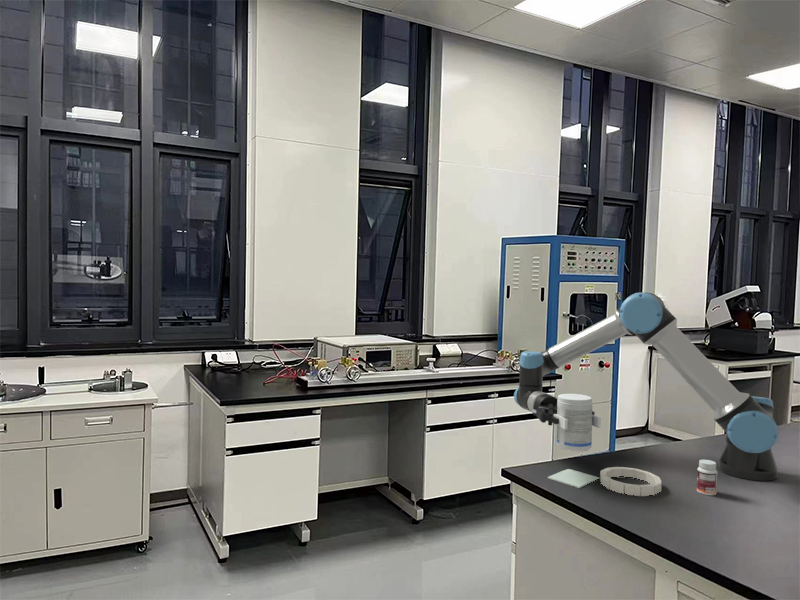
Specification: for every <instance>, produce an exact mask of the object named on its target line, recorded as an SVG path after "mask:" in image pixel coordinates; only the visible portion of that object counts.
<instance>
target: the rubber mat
mask: <svg viewBox="0 0 800 600" xmlns="http://www.w3.org/2000/svg"><path fill="white" fill-rule="evenodd" d="M548 479H549V480H551V481H555V482H558V483H562V484H565V485H566V486H567V485H568V486H571V487H573V486H574V487H573V488H577V489H581V488H584V487H585V486H588V485H589V483H590V484H592V483H594V482H596V481H598V480H597V479H599V480H600V476H599V477H598V476H595V475H592V474H588V473H584V472H581V471H577V470H574V469H570V468H567V469H564V470H561V471H559V472H556V473H554V474H552V475H548V476H547V480H548ZM595 480H596V481H595ZM593 481H594V482H593ZM591 482H592V483H591ZM587 484H588V485H587Z"/></svg>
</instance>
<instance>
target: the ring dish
mask: <svg viewBox="0 0 800 600" xmlns="http://www.w3.org/2000/svg"><path fill="white" fill-rule="evenodd" d="M619 476H624V477H623V478H625V477H633V478H632V479H634V478H637V479H636V480H638V479H640V480H639V481H641V480H644V481H643V482H645V481H647V482H648V483H647V482H646V483H647V484H634V483H633V484H632V483H627V482H622V481H618V480H615V479H614V478H613V479H612V478H611V477H617V478H620V477H619ZM599 482H601V483H600V485H601V484H602V485H603V487H604V486H605V487H606V489H607V490H609V489H610V490H609V491H611V490H612V492H614V491H615V492H614V493H618V494H621V493H622V494H621V495H625V494H627V495H626V496H633V495H634V496H636V497H650V496H649V495H653V496H656V495H658V494H660V493H662V485H663V484H662V480H661V477H660V476H658V475H656V474H654V473H652V472H650V471H648V470H643V469H639V468H634V467H624V466H621V467H620V466H613V467H612V466H611V467H606V468H604V469H601V470H600V473H599ZM649 483H650V484H649ZM602 485H601V486H602ZM605 487H604V488H605ZM659 492H660V493H659ZM624 493H625V494H624ZM657 493H658V494H657ZM655 494H656V495H655Z"/></svg>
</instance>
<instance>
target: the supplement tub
mask: <svg viewBox="0 0 800 600" xmlns="http://www.w3.org/2000/svg"><path fill="white" fill-rule="evenodd" d="M557 399H558V400H557V401H558V402H557V415H559V416H561V417H563V418H565V419H567V420H568V426H567V429H563V428H561V427H559V426H557V425H556V445H557V446H558V448H560V449H562V450H564V451H569V452H576V453H577V452H579V453H580V452H581V453H582V452H587V451H589V450H591V448H592V442H593V439H592V438H593V437H592V436H593V435H592V433H593V425H592V411H593V398H592V397H591V396H589V395H587V394H586V395H585V394H579V393H562V394H559V395H558V396H557Z"/></svg>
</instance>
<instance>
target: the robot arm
mask: <svg viewBox="0 0 800 600" xmlns="http://www.w3.org/2000/svg"><path fill="white" fill-rule="evenodd" d="M677 324H678V319H677V318H676V317H675V315H673V314H672V313H671V311H670V310H669V309H667V307H666V305H665V303H664V301H663V300H662V299H661V297H659V296H658V295H657V294H654V293H652V292H640V291H639V292H635V293H633V294H631V295H629V296H628V297H627V298H626V299H625V300H623V302H622V303H621V305H620V307H618V308H616V309H615V312H614V313H613V314H611V315H610V316H607V317H605V318H604V319H602V320H600V321H598V322H596V323H594V324H593V325H591V326H589V327H587V328H585V329H583V330H581V331H579V332H578V333H576V334H574V335H573V334H572V336H569V337H567V338H566V339H564V340H562V341H560V342H558V343H557V344H555V345H553V346H551V347H549V348H547V349H546V350H543V351H541V352H540V351H533V350H526V351H522V352H521V353H520V356H519V362H518V363H519V383H518V386H517V388H516V389H515V391H514V393H513V398H514V401H515V403H516V404H517V405H518V406H519V407H520V408H522V409H524V410H527V411H529V412H530V413H532V415H533V416H535V417H537V419H538V420H539V421H540V422H541V423H543V424H544V423H546V422H547V425H548V426H553V425H556V427H557V426H559V427H561V428H563V429H567V426H568V420H567V419H565V418H563V417H561V416H559V415H557V402H558V401H557V400H558V397H555V396H553V395H551V394H549V393H546V392H545V391H544V392H543V381H544V380H543V379H544V378H543V377H544V376H547V375H549V374H551V373H552V372H554V371H556V370H558V369H560V368H561V367H563V366H566V365H568V364H569V363H572V362H574V361H575V360H577V359H579V358H582V357H583V356H586V355H587V354H590V353H591V352H594V351H595V350H598V349H601V348H602V347H604V346H606V345H608V344H609V343H612V342H614V341H616V340H618V339H619V338H621V337H624V336H625V335H630V336H633V335H635V336H636V337H637V338H638V339H639V340H640V342H642V343H643V344H644V345H646V346H647V345H648V346H652V347H654V348H655V349H656V351H657V352H658V353H659V354H660V355H661V356H662V357H663V358H664V359H665V360H666V361H667V362H668V364H669V365H670V366H671V367H672V368H673V369H674V370H675V371H676V372H677V373H678V374H679V375H680V377H681V378H683V380H684V381H685V382H686V383H687V384H688V385H689V386H690V387H691V388H692V390H693V391H695V393H696V394H698V396H699V397H700V398H701V399H702V400H703V401H704V403H706V404H707V405H708V406H709V408H710V409H711V410H712V412H713V413H712V418H713V420H714V421H715V422H716V423H717V424H718V425H719V427H720V428H721V429H722V430H723V431H724V432H725V433H726V434H725V445H724V446H723V449H722V451H721V454H720V456H719V459H718V462H717V463H718V464H717V466H718V469H719V470H720V471H721V472H722V473H725V474H727V475H729V476H732V477H736V478H741V479H745V480H751V481H761V482H762V481H765V482H766V481H767V482H768V481H774V480H777V479H778V473H779V472H778V470H779V469H778V466H777V464H776V463H777V462H776V459H775V456H774V454H773V452H772V450H773V449H772V447H774V446H775V444H776V442H777V440H778V436H779V428H778V424H777V422H776V421H775V419H774V417H773V416H774V410H775V406H774V401H773V399H771V398H768V397H763V396H762V397H761V396H754V395H751V394H750V393H748V392H747V393H746V392H740V391H739V390H738V389H737V388H736V387H735V386H734V385H733V384H732V382H730V381H729V380H728V378H727V377H725V376H724V374H723V373H721V371H719V369H718V368H717V367H716V366H715V365H714V364H713V363H712V361H710V359H708V358H707V356H705V355H704V353H703V352H701V351H700V349H699V348H698V347H696V345H695V344H694V343H693V342H692V341H691V340H690V339H689V338H688V337H687V336H686V335H685V333H683V332H682V331H681V330H680V329H679V327H678V325H677ZM601 419H602V418H601V417H599V416H596V415H595V411H593V410H592V427H594V428H597V429H601Z"/></svg>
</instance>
